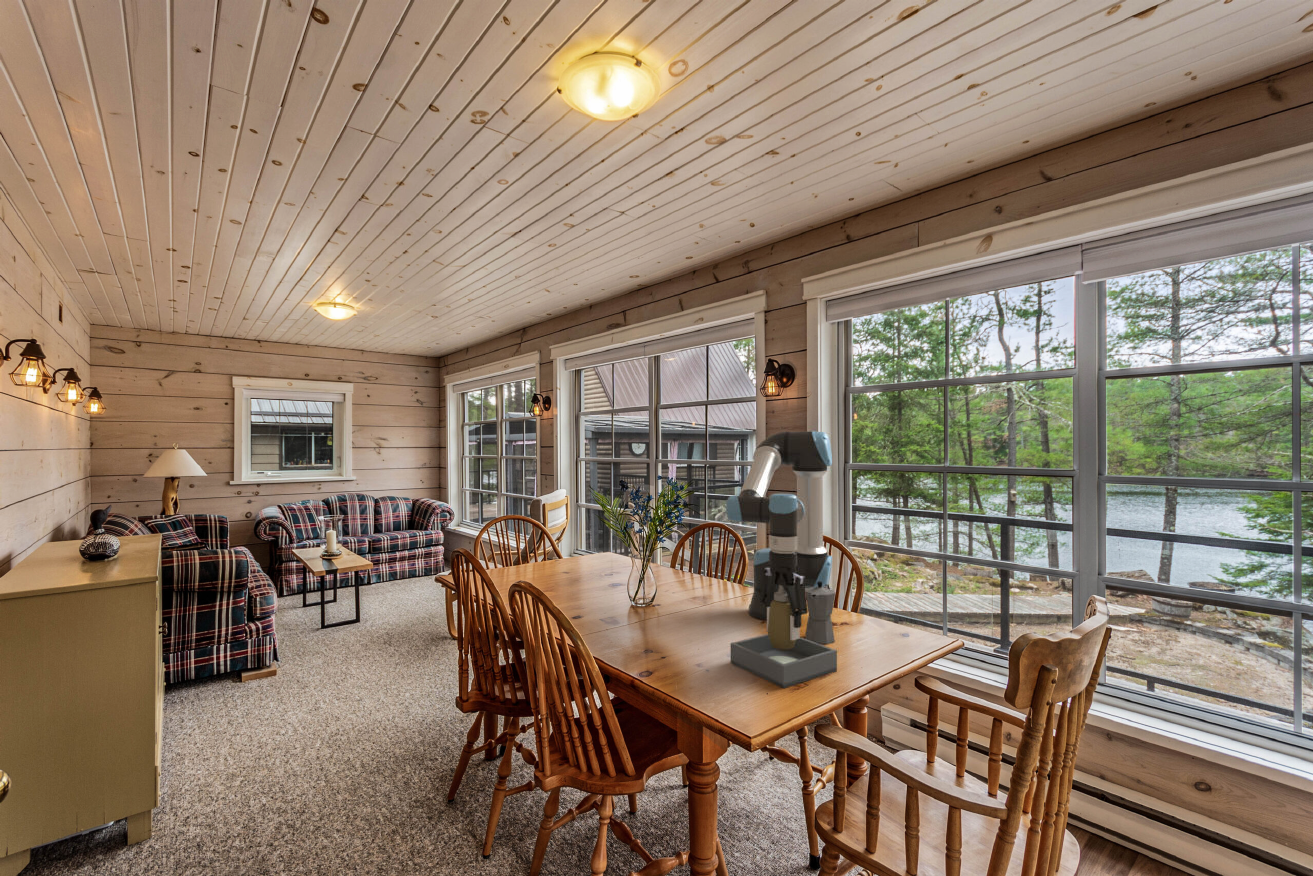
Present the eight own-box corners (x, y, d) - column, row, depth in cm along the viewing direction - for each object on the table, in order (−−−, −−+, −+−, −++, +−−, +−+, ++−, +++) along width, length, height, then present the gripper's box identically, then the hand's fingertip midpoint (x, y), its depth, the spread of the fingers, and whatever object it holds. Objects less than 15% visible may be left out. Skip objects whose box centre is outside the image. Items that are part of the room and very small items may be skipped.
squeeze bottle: (795, 653, 156) (796, 584, 156) (765, 649, 158) (765, 582, 158) (799, 643, 163) (799, 578, 163) (770, 640, 166) (770, 576, 166)
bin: (781, 649, 175) (782, 630, 175) (836, 671, 158) (836, 650, 158) (730, 663, 164) (730, 643, 164) (783, 688, 147) (783, 666, 147)
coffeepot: (828, 648, 175) (828, 588, 175) (797, 642, 180) (797, 583, 180) (843, 634, 188) (843, 577, 188) (814, 629, 193) (814, 574, 193)
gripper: (746, 546, 167) (746, 627, 167) (802, 558, 150) (802, 648, 150) (765, 544, 172) (765, 622, 172) (822, 555, 154) (822, 643, 154)
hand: (782, 634), depth 161 cm, fingers closed on squeeze bottle, 8 cm apart
